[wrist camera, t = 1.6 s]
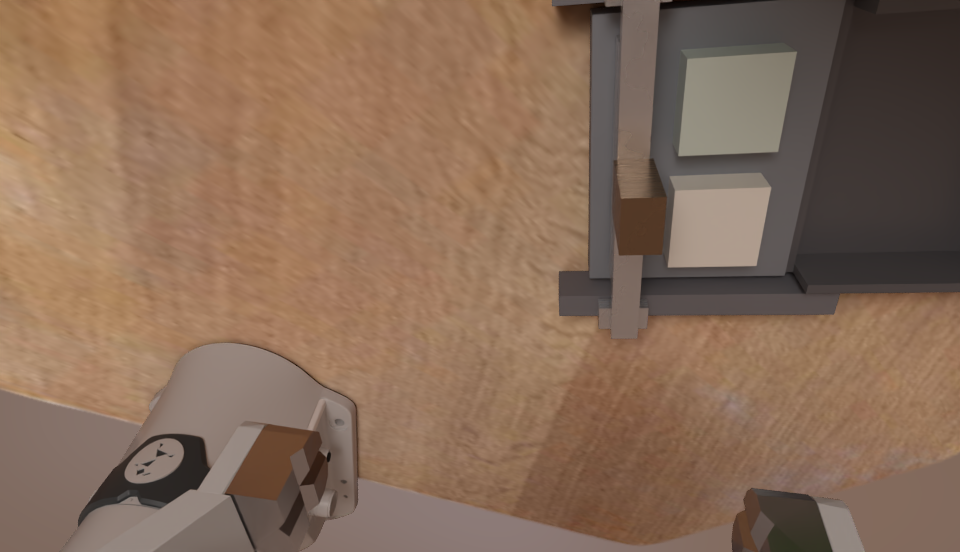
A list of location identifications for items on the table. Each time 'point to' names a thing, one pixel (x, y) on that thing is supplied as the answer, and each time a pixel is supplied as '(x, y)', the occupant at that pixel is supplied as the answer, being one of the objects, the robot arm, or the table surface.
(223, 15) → the table surface
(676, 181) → the cream tile
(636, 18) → the bar
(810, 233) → the box
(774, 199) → the grey railed tray
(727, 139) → the sage tile
